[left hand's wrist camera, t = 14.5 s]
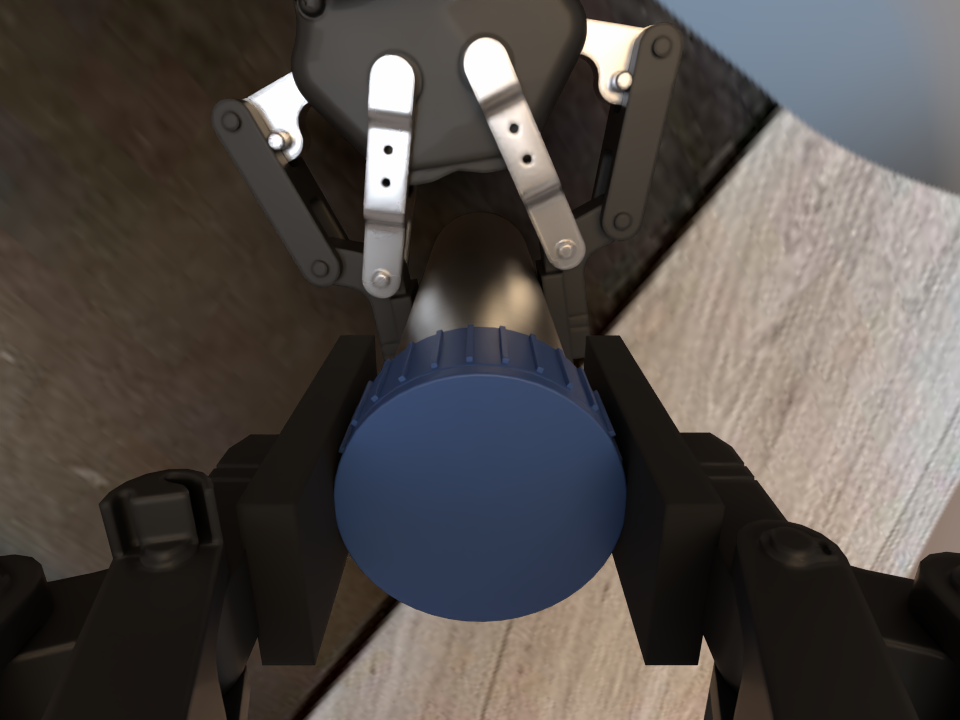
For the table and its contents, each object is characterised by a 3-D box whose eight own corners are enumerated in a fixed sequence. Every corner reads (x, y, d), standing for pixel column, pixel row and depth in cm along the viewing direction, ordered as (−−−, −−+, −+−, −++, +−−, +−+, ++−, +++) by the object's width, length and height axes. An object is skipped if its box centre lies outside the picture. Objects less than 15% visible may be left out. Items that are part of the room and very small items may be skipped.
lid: (349, 535, 13) (325, 614, 11) (358, 308, 11) (329, 353, 9) (583, 555, 13) (603, 636, 11) (628, 335, 11) (661, 384, 9)
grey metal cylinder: (427, 303, 28) (352, 581, 11) (435, 206, 26) (360, 367, 10) (522, 312, 28) (582, 600, 11) (535, 217, 26) (625, 393, 10)
